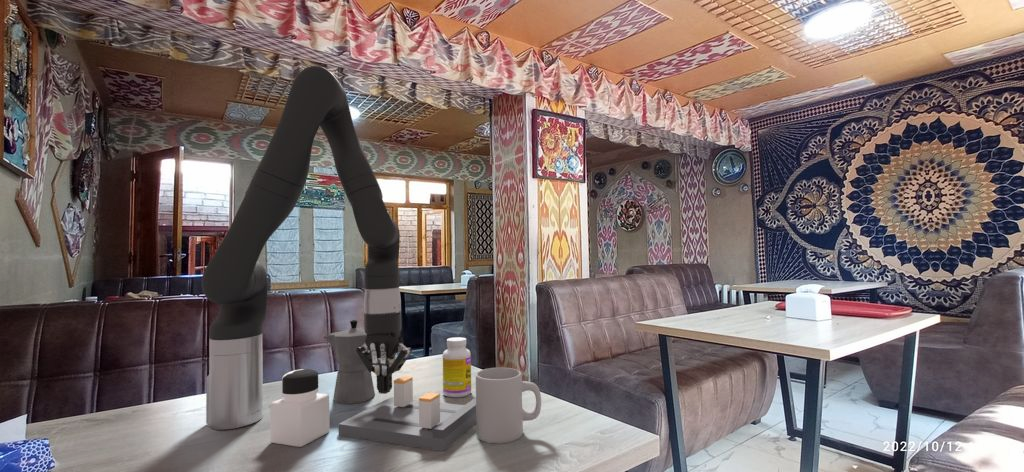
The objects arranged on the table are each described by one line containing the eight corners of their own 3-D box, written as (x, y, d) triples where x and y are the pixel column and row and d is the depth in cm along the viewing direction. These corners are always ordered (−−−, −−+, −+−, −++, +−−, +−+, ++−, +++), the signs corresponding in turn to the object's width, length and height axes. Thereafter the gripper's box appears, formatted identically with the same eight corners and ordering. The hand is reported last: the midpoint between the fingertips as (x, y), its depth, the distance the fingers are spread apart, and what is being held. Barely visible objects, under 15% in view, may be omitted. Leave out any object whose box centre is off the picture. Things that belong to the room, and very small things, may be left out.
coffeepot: (319, 406, 98) (318, 324, 99) (329, 393, 107) (328, 318, 108) (391, 401, 101) (390, 321, 101) (394, 388, 110) (394, 315, 111)
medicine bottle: (330, 432, 84) (329, 367, 84) (300, 448, 77) (300, 378, 77) (300, 427, 86) (300, 365, 87) (269, 443, 79) (269, 375, 80)
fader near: (419, 427, 79) (418, 398, 79) (428, 420, 82) (428, 392, 82) (431, 428, 78) (430, 399, 78) (440, 422, 81) (439, 393, 81)
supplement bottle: (469, 398, 102) (468, 341, 102) (440, 398, 102) (439, 342, 102) (472, 389, 108) (471, 336, 109) (445, 389, 108) (444, 336, 109)
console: (338, 434, 82) (338, 415, 82) (390, 406, 97) (390, 390, 97) (443, 451, 75) (442, 430, 75) (482, 417, 89) (482, 399, 90)
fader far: (393, 405, 90) (393, 380, 91) (403, 400, 93) (402, 376, 94) (403, 407, 90) (403, 381, 90) (412, 401, 93) (412, 377, 93)
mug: (472, 443, 77) (471, 379, 78) (480, 424, 86) (479, 367, 86) (541, 445, 76) (539, 380, 77) (542, 425, 85) (541, 367, 85)
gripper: (345, 311, 93) (346, 395, 92) (398, 312, 88) (400, 401, 87) (368, 307, 100) (370, 385, 99) (419, 307, 95) (421, 389, 94)
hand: (384, 392), depth 93 cm, fingers closed
